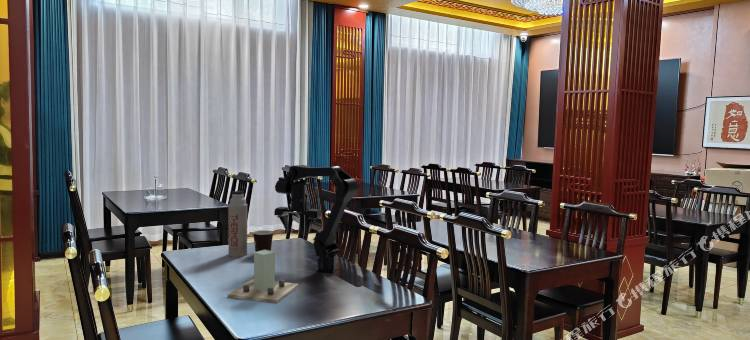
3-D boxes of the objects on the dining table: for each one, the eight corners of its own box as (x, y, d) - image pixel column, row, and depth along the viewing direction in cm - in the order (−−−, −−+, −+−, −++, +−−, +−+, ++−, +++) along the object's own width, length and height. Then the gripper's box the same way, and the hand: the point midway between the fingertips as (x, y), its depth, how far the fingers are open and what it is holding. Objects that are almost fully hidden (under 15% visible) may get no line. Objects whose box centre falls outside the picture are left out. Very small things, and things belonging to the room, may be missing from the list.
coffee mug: (270, 257, 228) (270, 234, 227) (250, 256, 229) (250, 234, 228) (276, 250, 240) (276, 229, 239) (257, 250, 240) (257, 228, 239)
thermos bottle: (238, 257, 226) (238, 193, 224) (224, 255, 230) (224, 191, 228) (251, 253, 234) (251, 191, 231) (237, 251, 237) (237, 189, 235)
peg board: (298, 286, 190) (298, 278, 190) (277, 303, 172) (277, 294, 172) (252, 281, 194) (252, 273, 194) (227, 297, 177) (227, 288, 176)
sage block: (264, 285, 187) (264, 249, 186) (274, 288, 184) (275, 251, 183) (253, 289, 183) (254, 252, 181) (264, 292, 180) (264, 254, 179)
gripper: (326, 194, 223) (325, 230, 224) (284, 191, 227) (284, 227, 229) (316, 197, 212) (316, 236, 213) (273, 195, 216) (273, 232, 218)
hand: (297, 232), depth 219 cm, fingers open, 9 cm apart
